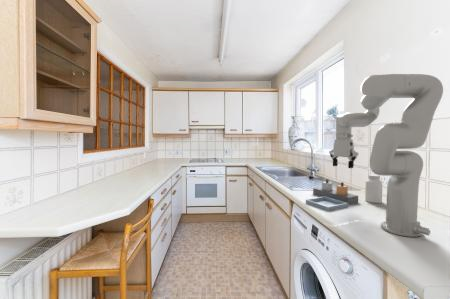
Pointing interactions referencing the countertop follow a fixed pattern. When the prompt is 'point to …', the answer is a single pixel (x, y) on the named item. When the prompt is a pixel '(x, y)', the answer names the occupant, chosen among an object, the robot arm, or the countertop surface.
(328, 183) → the twin plug
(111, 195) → the countertop surface
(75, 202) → the countertop surface
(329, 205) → the tray
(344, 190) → the plug
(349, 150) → the robot arm
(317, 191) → the grey two-slot holder
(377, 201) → the pill bottle
